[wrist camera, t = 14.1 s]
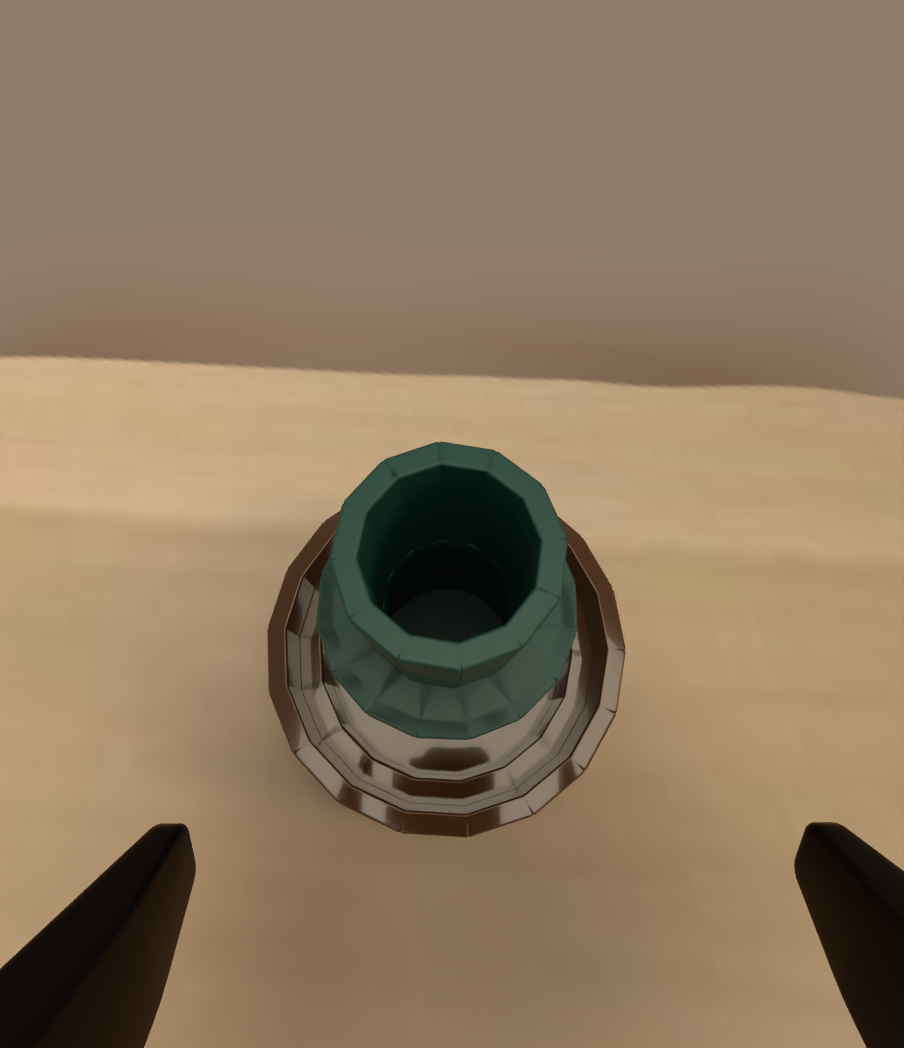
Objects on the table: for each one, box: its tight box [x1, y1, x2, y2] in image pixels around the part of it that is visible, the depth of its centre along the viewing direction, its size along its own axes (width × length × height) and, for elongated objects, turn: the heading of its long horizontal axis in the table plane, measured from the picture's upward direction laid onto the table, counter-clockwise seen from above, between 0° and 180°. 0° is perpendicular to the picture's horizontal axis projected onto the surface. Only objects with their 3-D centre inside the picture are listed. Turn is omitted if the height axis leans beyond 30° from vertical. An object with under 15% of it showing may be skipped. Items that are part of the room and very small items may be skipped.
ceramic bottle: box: [316, 442, 577, 740], centre depth 15 cm, size 5×5×14 cm
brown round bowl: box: [268, 511, 625, 837], centre depth 21 cm, size 11×11×4 cm
